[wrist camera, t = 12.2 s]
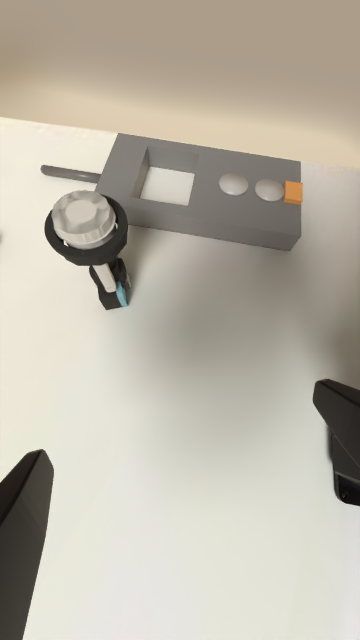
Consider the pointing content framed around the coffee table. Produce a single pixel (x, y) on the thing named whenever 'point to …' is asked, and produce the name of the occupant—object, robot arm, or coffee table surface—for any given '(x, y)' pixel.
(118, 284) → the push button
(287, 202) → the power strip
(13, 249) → the coffee table surface
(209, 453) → the coffee table surface
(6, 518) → the robot arm
